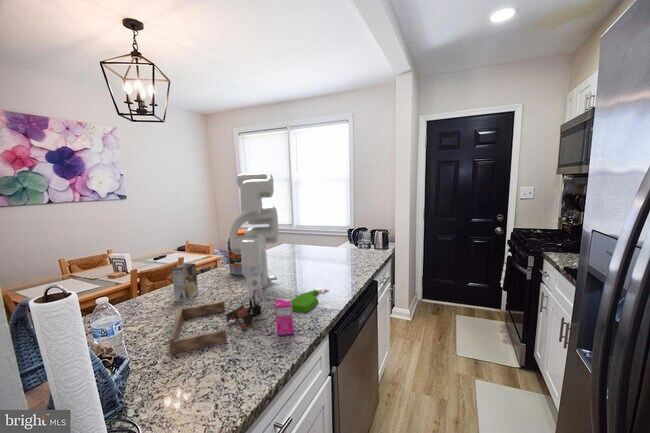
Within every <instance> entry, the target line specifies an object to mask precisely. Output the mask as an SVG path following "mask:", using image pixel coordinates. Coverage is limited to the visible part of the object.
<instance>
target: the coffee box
mask: <svg viewBox="0 0 650 433" xmlns="http://www.w3.org/2000/svg"><path fill="white" fill-rule="evenodd" d="M196 268H197V267H196V263H190V262H189V263H185V262H184V263H182V264H179V265H177V266H176V267H175V266H174V267H173V268H171V276H172V277H171V278H172V287H173V292H174V293H173V294H174V300H175V302H188V301H189V300H191V299H193V298H194V297H196V296H197V295H199V287H198V276H197V269H196Z"/></svg>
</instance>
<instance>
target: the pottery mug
mask: <svg viewBox="0 0 650 433" xmlns="http://www.w3.org/2000/svg"><path fill="white" fill-rule="evenodd" d="M225 317H226V320H225V321H226V323H229V321H230V320H231V321H234V320H236V321H238V320H240V319H242V321H243V322H242V323H240V325H239V328H240V330H241V331H244V330H246V329H247V328H249V327H250V326H252V325H253V324H254V323H253V322H254V318H255V317H253V315H252V306H250V305H249V307H245V306H244V304H242V305H240V306H238V307H236V308H235V309H233V310H231V311H229V312H228V313H226V314H225Z"/></svg>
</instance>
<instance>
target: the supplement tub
mask: <svg viewBox="0 0 650 433" xmlns="http://www.w3.org/2000/svg"><path fill="white" fill-rule="evenodd" d="M246 230H247V229H238V233H237V236H244V235H245V231H246ZM227 251H228V254H227V255H228V266H229V273H230V274H232V275H235V276H239V275H240V276H241V275H242V276H244V275H243V274H242V261H241V254H235V253H233V252H232V251H231V247H230V237H229V238H228V239H227Z"/></svg>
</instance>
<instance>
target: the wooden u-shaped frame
mask: <svg viewBox="0 0 650 433" xmlns="http://www.w3.org/2000/svg"><path fill="white" fill-rule="evenodd" d="M225 304H226V303H225V300H222V301H221V300H220V301H215V302H211V303H205V304H200V305H194V306H188V307H184V306H183V305H182V306H179V308H178V311H177V313H176V317H175V320H174V323H173V326H172V330H171V332H170V336H169V339H168V343H169V353H170V355H175V354H179V353H183V352H188V351H192V350H196V349H199V348H204V347H209V346H212V345H213V346H214V345H217V344H218V345H219V344H221V343H226V342H228V338H227V337H228V336H227V329H226V328H223V329H218V330H215V331H210V332H205V333H199V334H195V335H191V336H187V337H183V338H180V336H181V331H182V326H183V322H184V319H190V318H195V317H200V316H205V315H209V314H210V315H211V314H215V313H221V312H225V311H226V306H225Z"/></svg>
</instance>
